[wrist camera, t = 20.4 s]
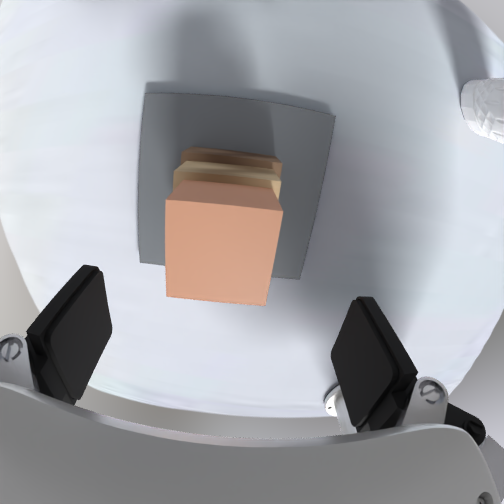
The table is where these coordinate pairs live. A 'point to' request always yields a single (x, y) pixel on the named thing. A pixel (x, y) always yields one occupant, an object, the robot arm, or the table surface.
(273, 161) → the walnut base block
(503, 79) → the white cup
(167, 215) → the terracotta block
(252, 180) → the oak block
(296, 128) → the slate board
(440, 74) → the table surface
